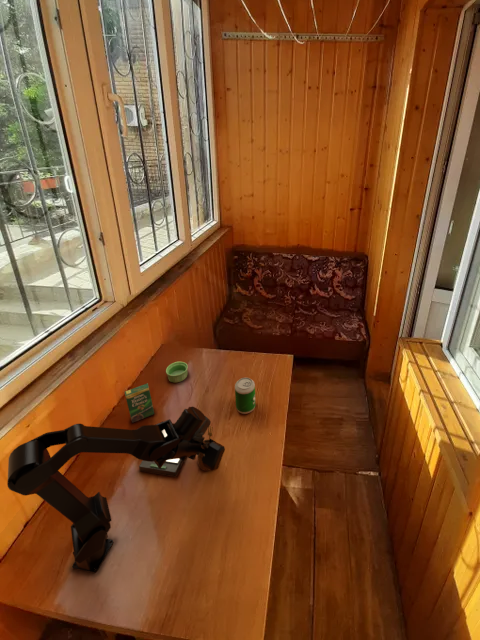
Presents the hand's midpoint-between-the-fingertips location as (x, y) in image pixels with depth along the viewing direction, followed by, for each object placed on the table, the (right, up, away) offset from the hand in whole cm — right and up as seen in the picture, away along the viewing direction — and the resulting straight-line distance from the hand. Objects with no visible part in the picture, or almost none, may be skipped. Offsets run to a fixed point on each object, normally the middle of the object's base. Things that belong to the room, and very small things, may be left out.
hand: (209, 443), depth 99 cm
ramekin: (-23, +7, +37) cm, 45 cm away
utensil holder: (-1, -7, +1) cm, 7 cm away
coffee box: (-30, -1, +17) cm, 34 cm away
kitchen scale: (-14, -5, +4) cm, 16 cm away
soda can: (+8, +1, +22) cm, 23 cm away
